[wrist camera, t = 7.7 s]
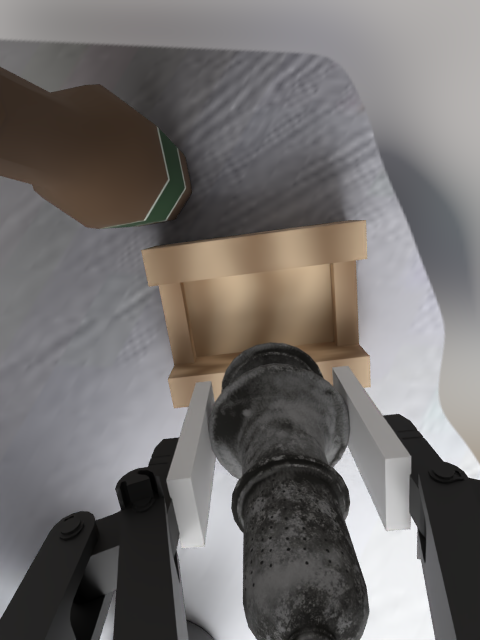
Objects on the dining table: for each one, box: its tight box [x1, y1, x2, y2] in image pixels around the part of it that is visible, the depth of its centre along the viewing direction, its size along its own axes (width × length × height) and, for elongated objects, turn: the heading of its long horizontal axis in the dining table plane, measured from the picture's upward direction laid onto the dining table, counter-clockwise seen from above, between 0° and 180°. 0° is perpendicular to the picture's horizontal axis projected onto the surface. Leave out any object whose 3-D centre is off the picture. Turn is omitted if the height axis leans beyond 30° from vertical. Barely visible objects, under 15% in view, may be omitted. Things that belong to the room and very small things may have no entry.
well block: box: [141, 220, 371, 408], centre depth 32 cm, size 18×14×6 cm
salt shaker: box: [209, 342, 369, 640], centre depth 12 cm, size 6×6×12 cm
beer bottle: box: [0, 67, 192, 229], centre depth 20 cm, size 8×8×24 cm
